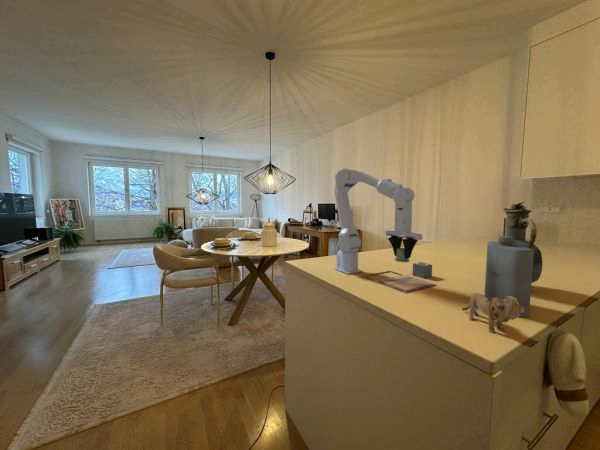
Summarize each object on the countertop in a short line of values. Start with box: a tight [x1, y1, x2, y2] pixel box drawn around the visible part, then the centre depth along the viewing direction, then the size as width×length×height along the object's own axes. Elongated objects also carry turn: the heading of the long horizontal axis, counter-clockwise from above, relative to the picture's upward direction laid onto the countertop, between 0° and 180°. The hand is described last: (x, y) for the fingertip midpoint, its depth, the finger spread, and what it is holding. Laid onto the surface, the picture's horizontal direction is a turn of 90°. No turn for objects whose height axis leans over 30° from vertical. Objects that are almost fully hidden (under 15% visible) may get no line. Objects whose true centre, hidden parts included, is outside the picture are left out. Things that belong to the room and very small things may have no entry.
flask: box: [483, 235, 534, 318], centre depth 70 cm, size 15×6×20 cm, turn 169°
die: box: [412, 261, 433, 279], centre depth 100 cm, size 5×5×5 cm
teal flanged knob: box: [394, 247, 410, 263], centre depth 91 cm, size 5×5×4 cm
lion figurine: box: [461, 292, 524, 334], centre depth 59 cm, size 15×5×9 cm, turn 9°
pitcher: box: [502, 200, 543, 284], centre depth 83 cm, size 11×19×30 cm, turn 160°
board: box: [361, 270, 437, 294], centre depth 94 cm, size 21×16×1 cm
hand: (402, 257), depth 91 cm, fingers closed on teal flanged knob, 4 cm apart
